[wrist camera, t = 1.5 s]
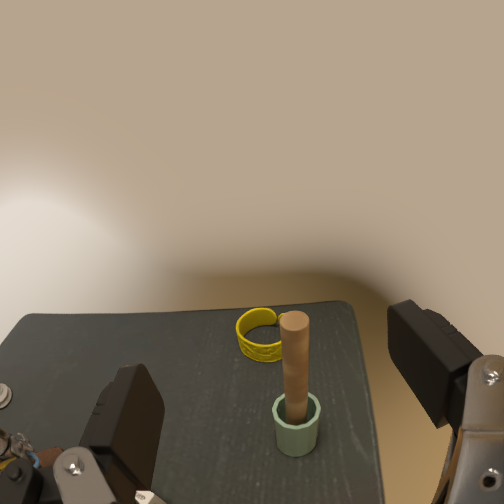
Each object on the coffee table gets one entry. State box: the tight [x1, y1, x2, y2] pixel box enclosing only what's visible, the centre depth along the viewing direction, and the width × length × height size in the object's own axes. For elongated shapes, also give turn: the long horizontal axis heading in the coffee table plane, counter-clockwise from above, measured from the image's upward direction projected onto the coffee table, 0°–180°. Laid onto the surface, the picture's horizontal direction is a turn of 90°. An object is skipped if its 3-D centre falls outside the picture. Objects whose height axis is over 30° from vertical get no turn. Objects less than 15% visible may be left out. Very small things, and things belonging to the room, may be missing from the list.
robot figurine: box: [0, 429, 64, 471], centre depth 22 cm, size 11×9×12 cm
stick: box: [280, 311, 309, 426], centre depth 26 cm, size 2×2×18 cm
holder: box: [272, 392, 321, 457], centre depth 29 cm, size 4×4×7 cm
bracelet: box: [236, 308, 285, 362], centre depth 43 cm, size 7×8×3 cm
